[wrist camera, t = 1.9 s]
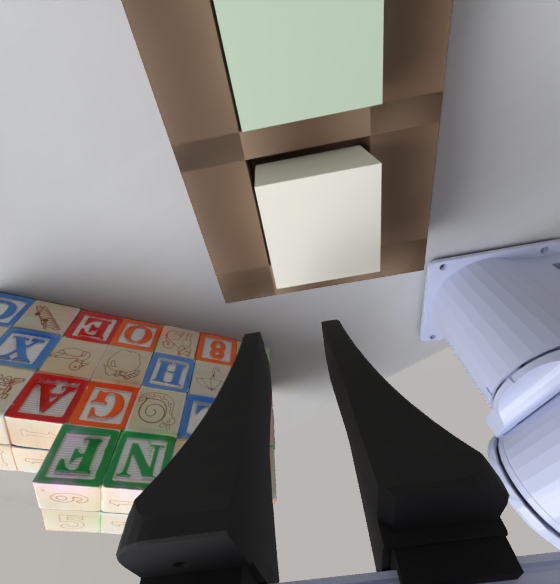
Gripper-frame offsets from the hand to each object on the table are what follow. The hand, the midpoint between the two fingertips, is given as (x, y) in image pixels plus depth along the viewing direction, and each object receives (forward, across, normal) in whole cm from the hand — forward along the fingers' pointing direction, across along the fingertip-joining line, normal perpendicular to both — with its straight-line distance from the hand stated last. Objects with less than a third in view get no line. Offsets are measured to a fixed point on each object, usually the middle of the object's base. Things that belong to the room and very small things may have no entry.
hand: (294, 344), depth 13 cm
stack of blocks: (+11, +13, +8) cm, 19 cm away
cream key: (+7, -2, -3) cm, 8 cm away
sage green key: (+7, -2, -10) cm, 12 cm away
